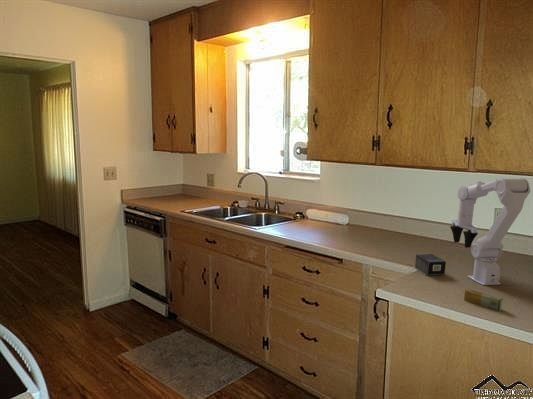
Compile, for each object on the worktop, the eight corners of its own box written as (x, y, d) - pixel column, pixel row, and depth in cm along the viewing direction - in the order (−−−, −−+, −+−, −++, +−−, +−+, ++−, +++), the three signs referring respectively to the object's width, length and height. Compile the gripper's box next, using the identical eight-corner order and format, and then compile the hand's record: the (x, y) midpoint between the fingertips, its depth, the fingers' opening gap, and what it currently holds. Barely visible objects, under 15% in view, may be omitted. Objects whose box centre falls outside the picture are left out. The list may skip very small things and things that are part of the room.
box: (444, 274, 173) (431, 265, 183) (446, 261, 172) (432, 253, 182) (427, 275, 172) (414, 266, 182) (428, 262, 170) (415, 253, 181)
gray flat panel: (443, 274, 174) (443, 273, 174) (425, 275, 172) (425, 274, 172) (431, 267, 183) (431, 266, 182) (414, 268, 181) (414, 266, 181)
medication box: (502, 310, 142) (503, 298, 141) (499, 312, 140) (500, 300, 139) (466, 298, 150) (467, 288, 150) (463, 300, 149) (464, 289, 148)
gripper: (447, 210, 185) (443, 240, 188) (467, 218, 171) (464, 249, 174) (461, 210, 187) (458, 239, 189) (483, 218, 173) (479, 249, 175)
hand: (461, 244), depth 182 cm, fingers open, 7 cm apart
